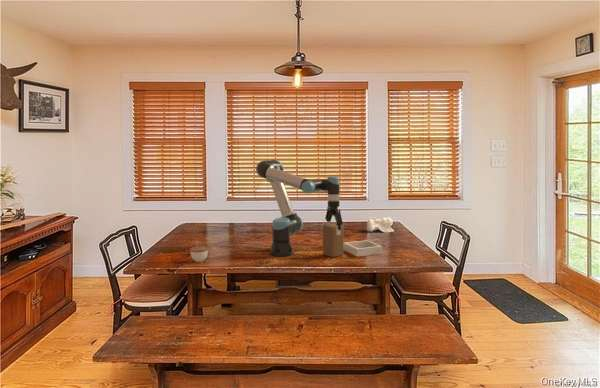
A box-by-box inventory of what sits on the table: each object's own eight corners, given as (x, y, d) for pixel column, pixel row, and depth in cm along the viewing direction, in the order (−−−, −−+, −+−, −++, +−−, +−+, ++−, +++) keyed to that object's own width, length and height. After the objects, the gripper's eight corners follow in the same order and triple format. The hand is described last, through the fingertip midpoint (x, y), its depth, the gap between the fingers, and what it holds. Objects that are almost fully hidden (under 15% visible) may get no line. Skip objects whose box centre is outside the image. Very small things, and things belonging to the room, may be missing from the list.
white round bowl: (189, 259, 255) (188, 244, 254) (206, 257, 259) (205, 243, 258) (192, 263, 245) (191, 248, 244) (209, 261, 250) (209, 246, 249)
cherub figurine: (366, 217, 342) (389, 214, 343) (368, 231, 343) (391, 229, 344) (370, 220, 329) (394, 217, 330) (371, 234, 330) (395, 231, 331)
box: (343, 249, 277) (343, 242, 276) (366, 247, 284) (367, 240, 283) (357, 256, 259) (357, 249, 258) (382, 253, 266) (382, 246, 266)
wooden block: (322, 254, 264) (322, 224, 262) (333, 252, 270) (334, 223, 268) (332, 258, 256) (332, 227, 254) (344, 255, 262) (344, 225, 260)
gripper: (348, 202, 249) (348, 235, 251) (330, 198, 272) (330, 228, 274) (337, 203, 246) (337, 237, 248) (320, 198, 269) (320, 229, 271)
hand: (333, 232), depth 261 cm, fingers open, 13 cm apart
